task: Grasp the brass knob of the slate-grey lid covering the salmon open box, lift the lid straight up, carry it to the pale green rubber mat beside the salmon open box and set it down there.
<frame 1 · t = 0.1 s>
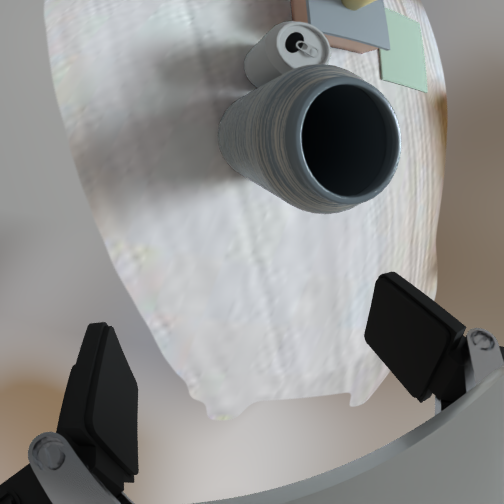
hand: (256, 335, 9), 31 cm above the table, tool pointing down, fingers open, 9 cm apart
vase: (257, 135, 36), on the table
lid: (346, 3, 25), point 6 cm above the table, touching salmon open box
can: (268, 68, 33), on the table
mat: (402, 47, 35), on the table
salmon open box: (326, 15, 30), on the table
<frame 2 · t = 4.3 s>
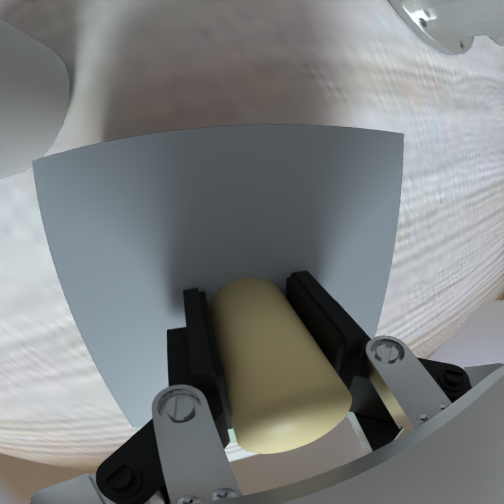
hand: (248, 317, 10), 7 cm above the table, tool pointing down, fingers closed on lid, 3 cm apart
lid: (242, 302, 11), point 6 cm above the table, touching salmon open box, gripper
can: (22, 109, 10), on the table
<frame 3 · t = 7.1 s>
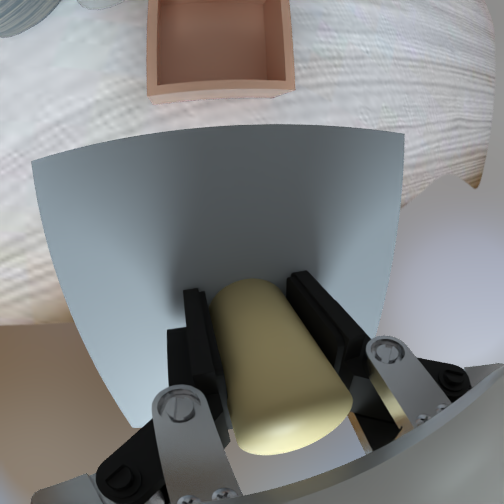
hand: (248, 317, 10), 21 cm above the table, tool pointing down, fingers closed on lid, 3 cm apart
vase: (35, 1, 13), on the table
lid: (242, 302, 11), point 20 cm above the table, touching gripper
salmon open box: (212, 45, 22), on the table
when the fingers open (3 cm above the table, at t = 9.9 s): lid drops 2 cm, resting on mat.
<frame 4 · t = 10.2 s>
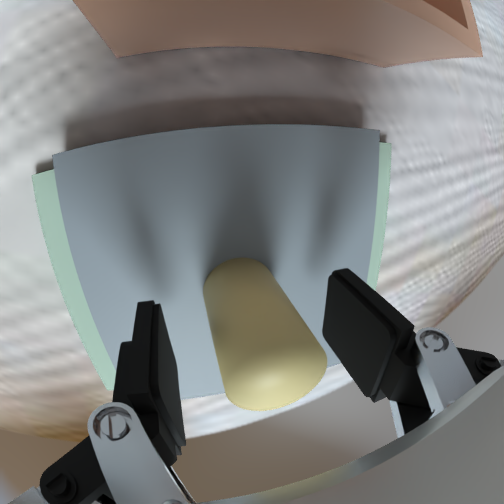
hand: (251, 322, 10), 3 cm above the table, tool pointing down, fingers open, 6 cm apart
lid: (235, 281, 12), resting on mat
mat: (232, 278, 13), on the table
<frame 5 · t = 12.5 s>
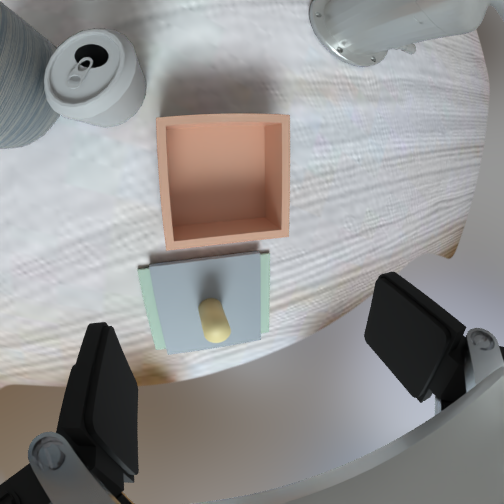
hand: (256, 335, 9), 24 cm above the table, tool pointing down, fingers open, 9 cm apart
vase: (35, 97, 20), on the table
lid: (209, 305, 35), resting on mat
can: (113, 95, 24), on the table
mat: (208, 304, 35), on the table
salmon open box: (216, 173, 30), on the table
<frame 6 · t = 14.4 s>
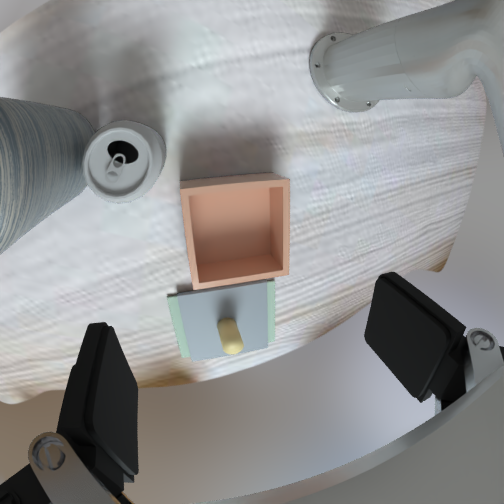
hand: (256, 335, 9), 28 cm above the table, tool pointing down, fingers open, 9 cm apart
vase: (63, 154, 28), on the table
lid: (225, 322, 43), resting on mat
can: (137, 155, 31), on the table
mat: (225, 321, 43), on the table
salmon open box: (230, 220, 37), on the table
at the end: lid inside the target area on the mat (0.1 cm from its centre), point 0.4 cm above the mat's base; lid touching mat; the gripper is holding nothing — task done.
